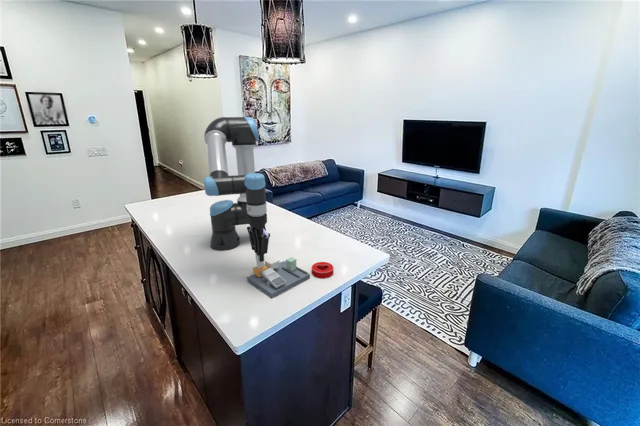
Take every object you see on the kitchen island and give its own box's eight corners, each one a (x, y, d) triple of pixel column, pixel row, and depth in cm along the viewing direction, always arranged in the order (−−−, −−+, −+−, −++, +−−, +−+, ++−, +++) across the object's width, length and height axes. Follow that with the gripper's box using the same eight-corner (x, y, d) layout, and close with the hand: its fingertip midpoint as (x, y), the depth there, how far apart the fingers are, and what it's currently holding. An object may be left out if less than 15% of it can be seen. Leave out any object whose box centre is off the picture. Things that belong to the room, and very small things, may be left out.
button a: (253, 273, 123) (253, 267, 122) (262, 269, 126) (261, 264, 125) (259, 277, 120) (259, 271, 119) (268, 273, 123) (268, 267, 122)
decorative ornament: (317, 280, 124) (317, 274, 123) (308, 270, 132) (308, 263, 131) (337, 276, 127) (337, 269, 126) (327, 265, 136) (327, 259, 135)
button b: (265, 266, 127) (264, 260, 126) (273, 262, 130) (273, 257, 129) (271, 270, 124) (271, 264, 123) (279, 266, 127) (279, 260, 126)
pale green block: (286, 269, 128) (285, 259, 126) (291, 266, 130) (291, 257, 128) (291, 271, 126) (290, 262, 124) (296, 268, 128) (296, 259, 126)
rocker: (260, 273, 118) (260, 271, 118) (270, 269, 122) (270, 266, 121) (275, 288, 112) (276, 285, 112) (285, 283, 116) (286, 280, 115)
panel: (247, 281, 122) (246, 273, 121) (284, 264, 136) (284, 257, 135) (272, 298, 111) (271, 289, 110) (309, 278, 125) (309, 270, 124)
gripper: (239, 212, 116) (244, 264, 124) (258, 220, 108) (262, 276, 115) (255, 207, 121) (259, 259, 129) (274, 215, 113) (277, 269, 120)
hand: (260, 267), depth 122 cm, fingers closed
